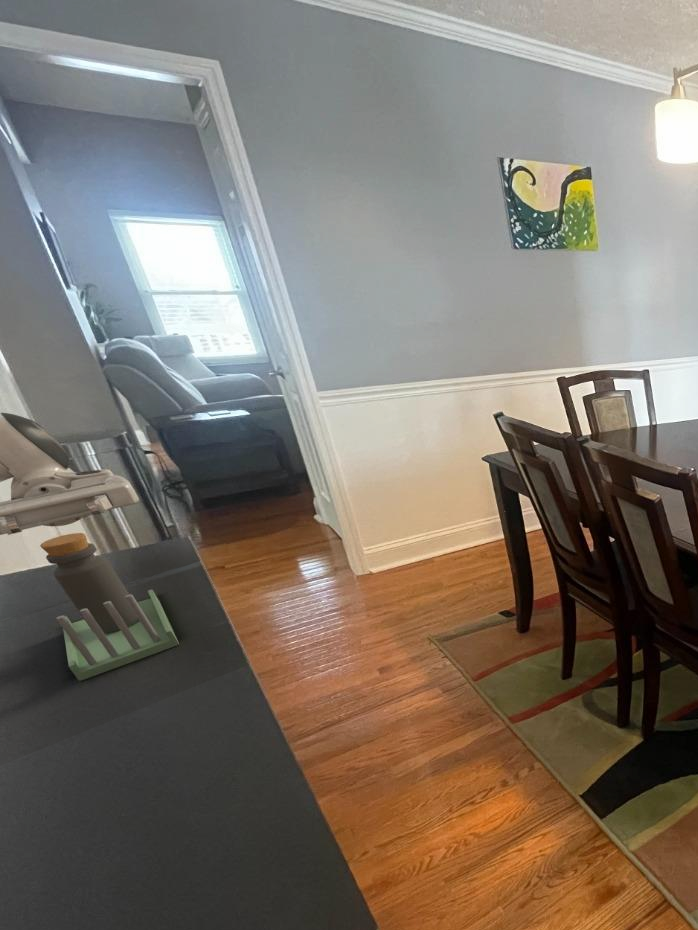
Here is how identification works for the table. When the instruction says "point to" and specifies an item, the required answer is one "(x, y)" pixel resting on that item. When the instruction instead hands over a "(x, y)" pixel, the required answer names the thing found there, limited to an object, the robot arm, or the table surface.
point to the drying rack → (116, 638)
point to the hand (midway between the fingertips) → (55, 518)
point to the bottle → (89, 580)
